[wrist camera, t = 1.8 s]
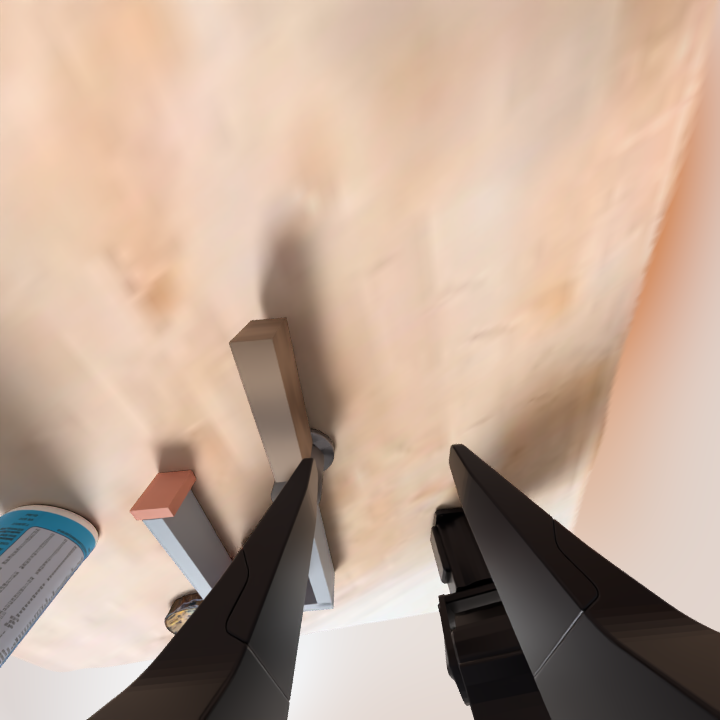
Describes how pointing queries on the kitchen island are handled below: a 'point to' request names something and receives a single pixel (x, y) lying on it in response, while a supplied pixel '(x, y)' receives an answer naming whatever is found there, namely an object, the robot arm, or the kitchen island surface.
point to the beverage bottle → (36, 565)
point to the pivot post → (323, 446)
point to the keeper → (163, 495)
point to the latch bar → (276, 398)
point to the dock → (210, 559)
